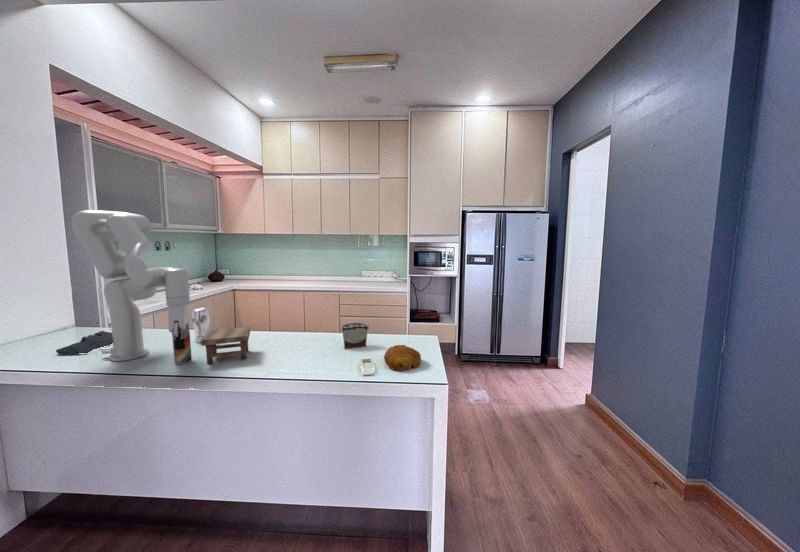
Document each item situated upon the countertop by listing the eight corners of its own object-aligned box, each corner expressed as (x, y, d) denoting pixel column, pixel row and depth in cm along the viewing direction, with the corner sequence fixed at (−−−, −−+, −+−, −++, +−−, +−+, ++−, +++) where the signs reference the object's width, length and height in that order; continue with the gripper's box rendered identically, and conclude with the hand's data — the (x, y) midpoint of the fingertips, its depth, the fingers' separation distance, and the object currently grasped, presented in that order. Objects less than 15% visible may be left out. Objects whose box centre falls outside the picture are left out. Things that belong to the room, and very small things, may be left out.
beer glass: (214, 338, 160) (212, 307, 158) (204, 343, 153) (202, 311, 151) (200, 338, 161) (198, 307, 159) (190, 342, 154) (187, 310, 152)
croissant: (382, 376, 124) (381, 357, 122) (386, 355, 139) (385, 338, 137) (421, 376, 124) (421, 357, 121) (421, 355, 139) (420, 338, 136)
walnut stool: (203, 365, 128) (201, 340, 126) (209, 353, 141) (207, 330, 139) (249, 360, 133) (247, 336, 132) (251, 349, 146) (250, 326, 145)
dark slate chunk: (47, 356, 137) (46, 345, 137) (93, 339, 159) (92, 330, 158) (86, 356, 138) (85, 345, 137) (127, 339, 160) (126, 329, 159)
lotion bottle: (189, 364, 130) (185, 313, 127) (172, 365, 128) (167, 314, 125) (193, 358, 135) (189, 309, 132) (177, 360, 133) (173, 310, 131)
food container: (366, 342, 156) (365, 321, 155) (369, 346, 150) (369, 324, 149) (339, 345, 152) (338, 323, 151) (341, 349, 146) (341, 327, 145)
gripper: (172, 297, 135) (176, 340, 137) (159, 306, 119) (163, 355, 121) (194, 296, 138) (197, 338, 140) (184, 304, 122) (188, 352, 124)
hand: (181, 345), depth 131 cm, fingers open, 5 cm apart
